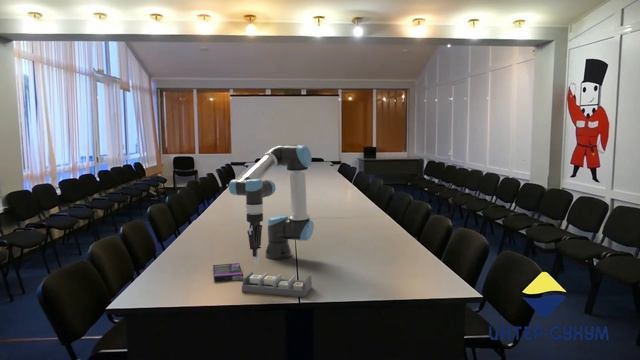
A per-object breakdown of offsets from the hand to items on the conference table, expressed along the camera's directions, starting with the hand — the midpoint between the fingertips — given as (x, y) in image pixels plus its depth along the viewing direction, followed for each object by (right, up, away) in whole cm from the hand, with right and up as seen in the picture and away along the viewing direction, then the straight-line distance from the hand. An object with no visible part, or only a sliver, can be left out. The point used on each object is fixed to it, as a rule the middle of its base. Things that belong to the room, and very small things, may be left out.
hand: (255, 262), depth 207 cm
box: (-17, -11, +21) cm, 29 cm away
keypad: (+10, -12, -1) cm, 16 cm away
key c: (+20, -12, -3) cm, 23 cm away
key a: (+13, -11, -2) cm, 18 cm away
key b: (0, -9, +1) cm, 9 cm away
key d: (+7, -9, 0) cm, 11 cm away
